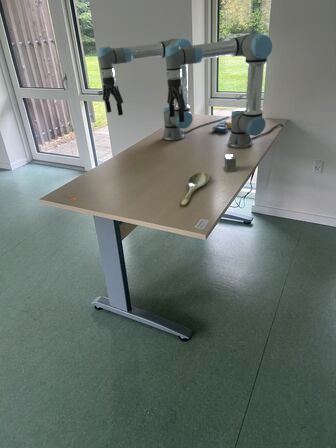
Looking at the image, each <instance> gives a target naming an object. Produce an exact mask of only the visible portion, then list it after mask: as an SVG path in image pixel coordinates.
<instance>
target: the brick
mask: <svg viewBox="0 0 336 448" xmlns="http://www.w3.org/2000/svg"><path fill="white" fill-rule="evenodd" d="M236 167H237V158H236V156H235V155H234V154H233V153H232V154H231V153H230V154H224V169H225V172H226V173H233V172H236V169H237V168H236Z"/></svg>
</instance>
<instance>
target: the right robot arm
mask: <svg viewBox="0 0 336 448" xmlns="http://www.w3.org/2000/svg"><path fill="white" fill-rule="evenodd" d="M272 52H273V42H272V40H271V38H270V36H268V35H267V34H262V33H255V34H253V33H252V34H251V33H248V34H244V35H241V36H240V35H239V36H235V37H231V38H230V39H229V40H222V41H214V42H208V43H200V44H192V46H185V47H181V46H179V45H170V46H167V47H166V48H165V57H166V58H165V65H166V67H165V68H166V73H165V75H166V77H167V80H166V81H167V90H168V91H167V100H166V103H167V104H168V106H169V110H170V117H175V112H174V105H175V99H176V101H177V104H178V107H179V109H178V110H179V122H184V109H185V108H186V107H185V103H184V98H183V94H182V89H180V90H179V87H180V86H181V85H182V79H181V65H185V64H188V65H192V64H193V65H195V64H199V63H201V62H202V61H203V60H206V59H212V58H220V57H227V56H230V57H231V58H234V57H242V58H245V64H246V65H247V79H246V95H245V97H246V99H245V108H238V109H237V108H236V109H233V110H232V111H231V115H230V117H231V119H230V120H231V121H230V122H231V128H230V135H229V139H228V140H227V146H228V147H229V148H234V149H244V148H249V147H251V145H252V140H254V139H256V138H258V137H261V136H263V135H266V134H268V133H270V132H271V131H272V130H273V129H275V128H277V127H279V126H283V123H282V124H281V123H278V124H276V125H275V126H274V125H273V127H272V128H271V129H269V130H268V131H265V132H264V130H265V128H266V126H267V125H266V124H267V121H266V120H265V118H264V117H263V115H264V111H263V110H262V109H261V107H262V94H263V80H264V67H265V64H267V62H268V58H269V56H270V55H271V54H272ZM263 132H264V133H263ZM251 136H253V137H251Z"/></svg>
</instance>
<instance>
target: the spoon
mask: <svg viewBox="0 0 336 448" xmlns="http://www.w3.org/2000/svg"><path fill="white" fill-rule="evenodd" d="M209 180H210V176H209V174H208V173H206V172H203V171H200V172H199V171H198V172H195V173H194V174H192V175H191V176H189V178H188V180H187V185H188V187H189V188H188V189H189V190H188V192H187V193H186V195H185V196H184V197H183V198H182V200H181V202H180V206H183V207H185V206H187V205H188V203H189V201H190V199H191V197H192V195H193V193H194V191H196V190H197V189H199V188H201V187H203V186H205V185H206V184H207V183H208V182H209Z"/></svg>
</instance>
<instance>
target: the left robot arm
mask: <svg viewBox="0 0 336 448" xmlns="http://www.w3.org/2000/svg"><path fill="white" fill-rule="evenodd" d="M170 45H179V46H181V47H185V46H192V45H193V44H192V43H191V42H190V41H189V40H188V39H185V38H170V39H166V40H162V41H157V43H150V44H141V45H132V46H123V47H111V46H101V47H98V48H97V58H98V62H99V66H100V74H101V77H102V84H103V85H102V101H104V103H105V108H106V113H109V114H110V113H111V112H112V107H111V102H110V98H111V96H112V97H113V99H114V100H115V102H116V109H117V115H118V116H119V117H120V116H123V115H124V112H123V106H122V105H123V103H124V100H123V97H122V95H121V93H120V90H119V86H118V85H116V83H117V79H116V76H115V75H116V73H115V67H114V65H119V64H127V63H131V62H132V61H136V60H144V59H153V58H159V59H166V57H165V48H166V47H167V46H170ZM188 65H189V64H185V65H181V79H182V85H181V86H180V87H179V90H180V89H182V94H183V98H184V103H185V107H186V108H185V109H184V122H179V110H178V109H179V107H178V104H177V101H176V99H174V104H173V105H174V112H175V117H170V110H169V105H166V106H165V107H163V108H162V109H163V122H164V130H163V135H162V139H163V140H164V141H167V142H176V141H180V140H182V139H184V137H185V136H184V134H187V133H189V132H191V131H193V130H195V129H198V128H200V127H203V126H207V125H209V124H213V123H218V122H219V121H224V120H225V119H229V118H230V116H226V117H223V118H220V119H217V120H213V121H210V122H206V123H203V124H199V125H198V126H195V127H192V128H190V126H191V125H192V123H193V121H194V116H193V113H192V112H191V107H190V105H189V103H188V101H189V100H188V98H189V97H188V67H189V66H188ZM188 128H190V129H188ZM183 129H184V130H185V129H188V130H187V131H183Z"/></svg>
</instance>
